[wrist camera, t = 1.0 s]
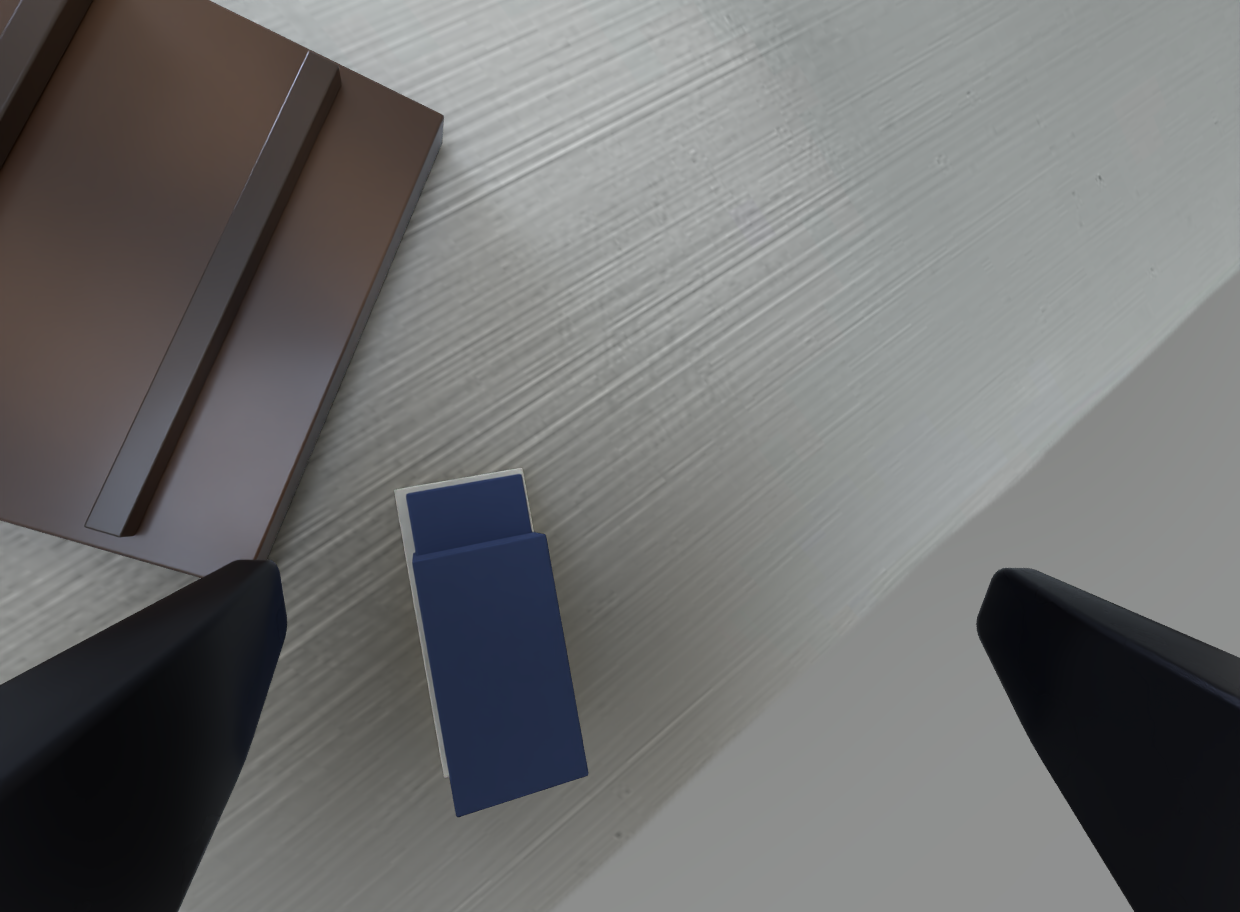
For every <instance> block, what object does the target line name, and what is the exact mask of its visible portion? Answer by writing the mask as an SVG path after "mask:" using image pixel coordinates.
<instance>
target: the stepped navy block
mask: <svg viewBox="0 0 1240 912" xmlns="http://www.w3.org/2000/svg"><path fill="white" fill-rule="evenodd" d="M394 494H395V500H396V505H397V511H398V517H399V523H400V528H401V534H402V540H403V545H404V551H405V557H406V563H407V568H408V574H409V580H410V586H411V591H412V597H413V603H414V609H415V614H416V620H417V626H418V632H419V637H420V643H421V649H422V655H423V660H424V666H425V672H426V677H427V683H428V689H429V695H430V700H431V706H432V712H433V718H434V723H435V729H436V735H437V741H438V746H439V752H440V758H441V764H442V769H443V775H444V778H448V777H449V778H450V784H451V789H452V795H453V801H454V806H455V812H456V816H457V817H461V816H464V815H467V814H470V813H473V812H476V811H479V810H482V809H486V808H489V807H492V806H495V805H498V804H501V803H504V802H507V801H510V800H514V799H517V798H520V797H523V796H526V795H529V794H532V793H535V792H538V791H542V790H545V789H548V788H551V787H554V786H557V785H560V784H563V783H566V782H569V781H573V780H576V779H579V778H582V777H585V776H588V768H587V762H586V756H585V751H584V745H583V740H582V734H581V728H580V723H579V717H578V712H577V706H576V700H575V695H574V689H573V684H572V678H571V673H570V667H569V661H568V656H567V650H566V645H565V639H564V633H563V628H562V622H561V617H560V611H559V605H558V600H557V594H556V589H555V583H554V578H553V572H552V566H551V561H550V555H549V550H548V544H547V538H546V535H545V534H541V533H536V532H534V529H533V524H532V518H531V512H530V507H529V501H528V496H527V490H526V484H525V479H524V473H523V469H522V468H516V469H511V470H505V471H499V472H493V473H487V474H482V475H476V476H470V477H464V478H458V479H453V480H447V481H441V482H435V483H429V484H424V485H418V486H412V487H406V488H400V489H396V490H394Z"/></svg>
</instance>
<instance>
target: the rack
mask: <svg viewBox="0 0 1240 912" xmlns="http://www.w3.org/2000/svg"><path fill="white" fill-rule="evenodd" d="M443 122H444V116H443V115H442V114H440V113H438V112H436V111H434V110H432V109H430V108H428V107H426V106H424V105H422V104H420V103H418V102H415V101H413V100H411V99H409V98H407V97H405V96H403V95H401V94H399V93H397V92H395V91H393V90H391V89H389V88H387V87H385V86H383V85H381V84H379V83H377V82H375V81H373V80H371V79H369V78H367V77H365V76H362V75H360V74H358V73H356V72H354V71H352V70H350V69H348V68H346V67H344V66H342V65H340V64H338V63H336V62H334V61H332V60H330V59H328V58H326V57H324V56H322V55H320V54H318V53H316V52H314V51H312V50H309V49H307V48H305V47H303V46H301V45H299V44H297V43H295V42H293V41H291V40H289V39H287V38H285V37H283V36H281V35H279V34H277V33H275V32H273V31H271V30H269V29H267V28H265V27H263V26H261V25H259V24H256V23H254V22H252V21H250V20H248V19H246V18H244V17H242V16H240V15H238V14H236V13H234V12H232V11H230V10H228V9H226V8H224V7H222V6H220V5H218V4H216V3H214V2H212V1H210V0H0V520H1V521H4V522H8V523H11V524H15V525H18V526H22V527H25V528H28V529H32V530H35V531H39V532H42V533H46V534H49V535H53V536H56V537H60V538H63V539H67V540H70V541H74V542H77V543H81V544H84V545H88V546H91V547H95V548H98V549H102V550H105V551H109V552H112V553H115V554H119V555H122V556H126V557H129V558H133V559H136V560H140V561H143V562H147V563H150V564H154V565H157V566H161V567H164V568H168V569H171V570H175V571H178V572H182V573H185V574H189V575H192V576H196V577H199V578H203V577H204V576H206V575H208V574H210V573H212V572H214V571H216V570H218V569H219V568H221V567H223V566H225V565H227V564H229V563H231V562H233V561H235V560H240V559H245V560H267V558H268V555H269V553H270V551H271V548H272V546H273V544H274V541H275V539H276V536H277V534H278V532H279V529H280V527H281V525H282V522H283V520H284V517H285V515H286V513H287V510H288V508H289V506H290V503H291V501H292V498H293V496H294V494H295V491H296V489H297V486H298V484H299V482H300V479H301V477H302V475H303V472H304V470H305V467H306V465H307V463H308V460H309V458H310V456H311V453H312V451H313V448H314V446H315V444H316V441H317V439H318V437H319V434H320V432H321V429H322V427H323V425H324V422H325V420H326V418H327V415H328V413H329V410H330V408H331V406H332V403H333V401H334V399H335V396H336V394H337V391H338V389H339V387H340V384H341V382H342V380H343V377H344V375H345V372H346V370H347V368H348V365H349V363H350V361H351V358H352V356H353V353H354V351H355V349H356V346H357V344H358V342H359V339H360V337H361V334H362V332H363V330H364V327H365V325H366V323H367V320H368V318H369V315H370V313H371V311H372V308H373V306H374V304H375V301H376V299H377V296H378V294H379V292H380V289H381V287H382V285H383V282H384V280H385V277H386V275H387V273H388V270H389V268H390V266H391V263H392V261H393V258H394V256H395V254H396V251H397V249H398V247H399V244H400V242H401V239H402V237H403V235H404V232H405V230H406V228H407V225H408V223H409V220H410V218H411V216H412V213H413V211H414V209H415V206H416V204H417V201H418V199H419V197H420V194H421V192H422V190H423V187H424V185H425V182H426V180H427V178H428V175H429V173H430V171H431V168H432V166H433V163H434V161H435V159H436V156H437V154H438V152H439V149H440V147H441V144H442V137H443Z"/></svg>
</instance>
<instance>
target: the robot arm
mask: <svg viewBox="0 0 1240 912" xmlns="http://www.w3.org/2000/svg"><path fill="white" fill-rule="evenodd" d="M976 625H977V632H978V636H979V638H980V641H981V643H982V644H983V647H984V649H985V651H986V653H987V655H988V657H989V659H990V661H991V663H992V665H993V667H994V669H995V671H996V673H997V675H998V677H999V679H1000V681H1001V683H1002V685H1003V687H1004V689H1005V691H1006V693H1007V695H1008V697H1009V699H1010V701H1011V703H1012V705H1013V707H1014V710H1015V712H1016V714H1017V716H1018V717H1019V719H1020V722H1021V724H1022V725H1023V728H1024V729H1025V731H1026V733H1027V735H1028V737H1029V739H1030V741H1031V743H1032V744H1033V746H1034V747H1035V750H1036V751H1037V753H1038V755H1039V756H1040V758H1041V760H1042V762H1043V763H1044V765H1045V766H1046V768H1047V770H1048V771H1049V773H1050V774H1051V776H1052V778H1053V780H1054V781H1055V783H1056V784H1057V786H1058V788H1059V789H1060V791H1061V793H1062V794H1063V796H1064V798H1065V799H1066V801H1067V802H1068V804H1069V806H1070V807H1071V809H1072V811H1073V812H1074V814H1075V816H1076V817H1077V819H1078V820H1079V822H1080V824H1081V825H1082V827H1083V829H1084V830H1085V832H1086V833H1087V835H1088V837H1089V838H1090V840H1091V842H1092V843H1093V845H1094V847H1095V848H1096V850H1097V852H1098V853H1099V855H1100V856H1101V858H1102V860H1103V861H1104V863H1105V865H1106V866H1107V868H1108V869H1109V871H1110V873H1111V874H1112V876H1113V878H1114V879H1115V881H1116V883H1117V884H1118V886H1119V887H1120V889H1121V891H1122V892H1123V894H1124V896H1125V897H1126V899H1127V900H1128V902H1129V904H1130V905H1131V907H1132V909H1133V910H1134V912H1240V658H1239V657H1237V656H1234V655H1232V654H1230V653H1227V652H1225V651H1223V650H1220V649H1218V648H1216V647H1213V646H1211V645H1209V644H1206V643H1204V642H1202V641H1199V640H1197V639H1195V638H1192V637H1190V636H1188V635H1186V634H1183V633H1181V632H1179V631H1176V630H1174V629H1172V628H1169V627H1167V626H1165V625H1162V624H1160V623H1157V622H1155V621H1153V620H1151V619H1148V618H1146V617H1144V616H1141V615H1139V614H1137V613H1134V612H1132V611H1130V610H1127V609H1125V608H1123V607H1120V606H1118V605H1116V604H1114V603H1111V602H1109V601H1107V600H1104V599H1102V598H1100V597H1097V596H1095V595H1093V594H1090V593H1088V592H1086V591H1083V590H1081V589H1079V588H1076V587H1074V586H1072V585H1069V584H1067V583H1065V582H1062V581H1060V580H1058V579H1055V578H1053V577H1051V576H1048V575H1046V574H1044V573H1042V572H1039V571H1037V570H1034V569H1030V568H1003V569H1001V570H998V571H997V572H996V573H995V574H994V576H993V578H992V579H991V582H990V585H989V588H988V590H987V593H986V595H985V598H984V601H983V603H982V606H981V608H980V611H979V614H978V617H977V623H976ZM286 631H287V614H286V608H285V602H284V596H283V589H282V583H281V577H280V572H279V569H278V567H277V564H276V563H274V562H273V561H272V560H245V559H240V560H235V561H233V562H231V563H229V564H227V565H225V566H223V567H221V568H219V569H218V570H216V571H214V572H212V573H210V574H208V575H206V576H204V577H203V578H201V579H199V580H197V581H195V582H193V583H191V584H189V585H188V586H186V587H184V588H182V589H180V590H178V591H176V592H174V593H172V594H171V595H169V596H167V597H165V598H163V599H161V600H159V601H157V602H156V603H154V604H152V605H150V606H148V607H146V608H144V609H142V610H141V611H139V612H137V613H135V614H133V615H131V616H129V617H127V618H126V619H124V620H122V621H120V622H118V623H116V624H114V625H112V626H110V627H109V628H107V629H105V630H103V631H101V632H99V633H97V634H95V635H94V636H92V637H90V638H88V639H86V640H84V641H82V642H80V643H79V644H77V645H75V646H73V647H71V648H69V649H67V650H65V651H63V652H62V653H60V654H58V655H56V656H54V657H52V658H50V659H48V660H47V661H45V662H43V663H41V664H39V665H37V666H35V667H33V668H32V669H30V670H28V671H26V672H24V673H22V674H20V675H18V676H16V677H15V678H13V679H11V680H9V681H7V682H5V683H3V684H1V685H0V912H178V910H179V908H180V906H181V904H182V902H183V899H184V897H185V895H186V893H187V890H188V888H189V886H190V884H191V882H192V879H193V877H194V875H195V873H196V870H197V868H198V866H199V864H200V862H201V859H202V857H203V855H204V853H205V850H206V848H207V846H208V844H209V842H210V839H211V837H212V835H213V833H214V830H215V828H216V826H217V824H218V822H219V819H220V817H221V815H222V813H223V810H224V808H225V806H226V804H227V802H228V799H229V797H230V795H231V793H232V790H233V788H234V786H235V784H236V782H237V779H238V777H239V774H240V772H241V770H242V767H243V765H244V762H245V760H246V757H247V754H248V752H249V749H250V746H251V743H252V740H253V737H254V734H255V731H256V728H257V724H258V721H259V718H260V715H261V712H262V709H263V706H264V703H265V699H266V696H267V693H268V690H269V687H270V684H271V681H272V678H273V674H274V671H275V668H276V665H277V662H278V659H279V656H280V652H281V649H282V646H283V643H284V640H285V636H286Z"/></svg>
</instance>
